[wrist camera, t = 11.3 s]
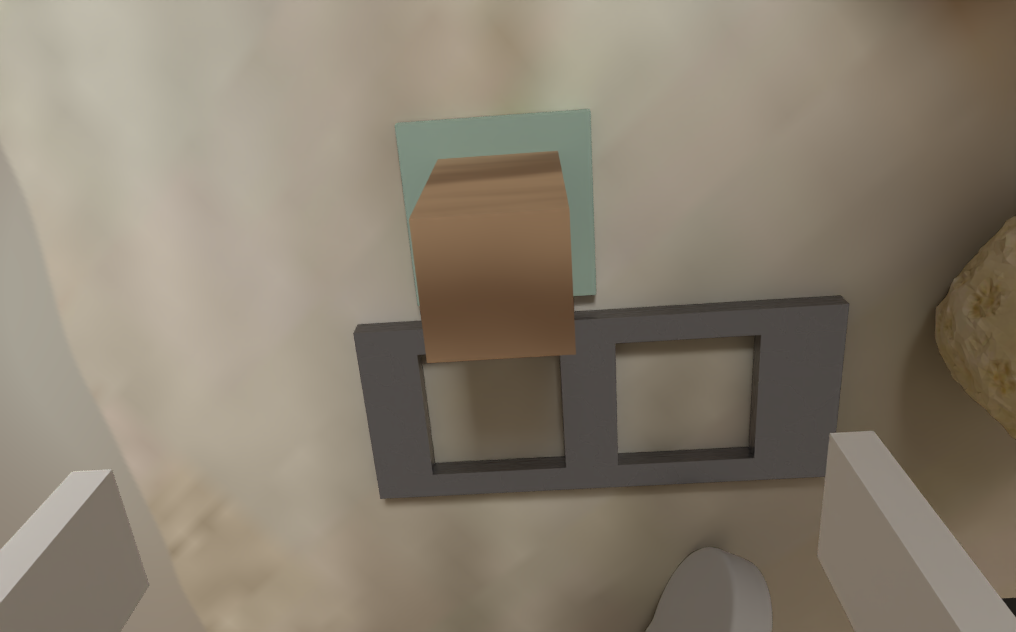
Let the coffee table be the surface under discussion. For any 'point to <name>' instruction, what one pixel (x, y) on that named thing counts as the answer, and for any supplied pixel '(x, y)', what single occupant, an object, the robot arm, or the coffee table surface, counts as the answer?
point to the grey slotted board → (593, 407)
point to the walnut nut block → (494, 258)
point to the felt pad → (511, 136)
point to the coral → (984, 327)
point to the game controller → (714, 596)
